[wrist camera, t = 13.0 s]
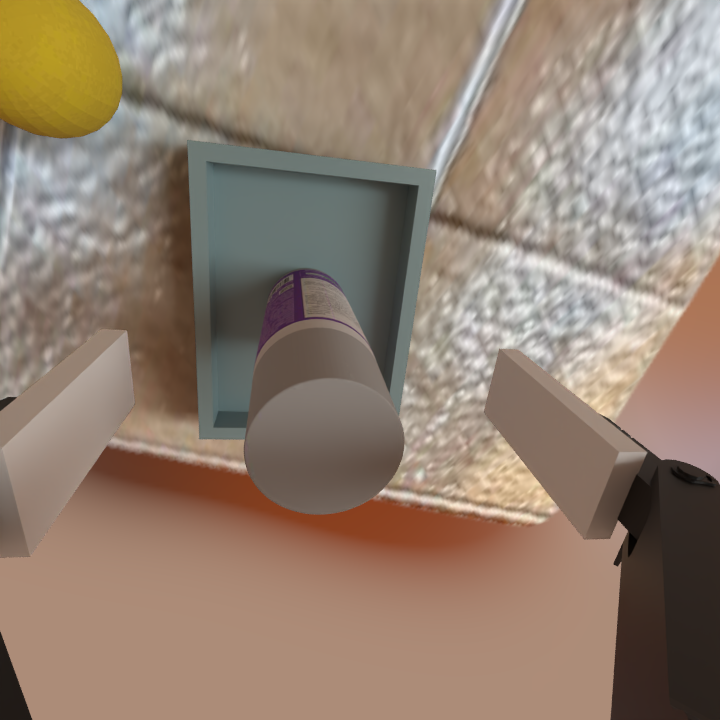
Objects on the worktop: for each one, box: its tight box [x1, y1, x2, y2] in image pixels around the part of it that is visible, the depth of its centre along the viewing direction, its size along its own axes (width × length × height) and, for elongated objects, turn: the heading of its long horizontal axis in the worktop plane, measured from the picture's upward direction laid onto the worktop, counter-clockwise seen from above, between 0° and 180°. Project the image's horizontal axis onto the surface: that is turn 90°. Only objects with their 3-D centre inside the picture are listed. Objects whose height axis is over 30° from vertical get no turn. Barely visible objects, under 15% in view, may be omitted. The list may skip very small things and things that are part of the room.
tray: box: [187, 140, 436, 439], centre depth 25 cm, size 16×12×3 cm
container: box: [244, 268, 404, 514], centre depth 19 cm, size 5×5×15 cm
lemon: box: [0, 0, 122, 138], centre depth 17 cm, size 6×6×8 cm
